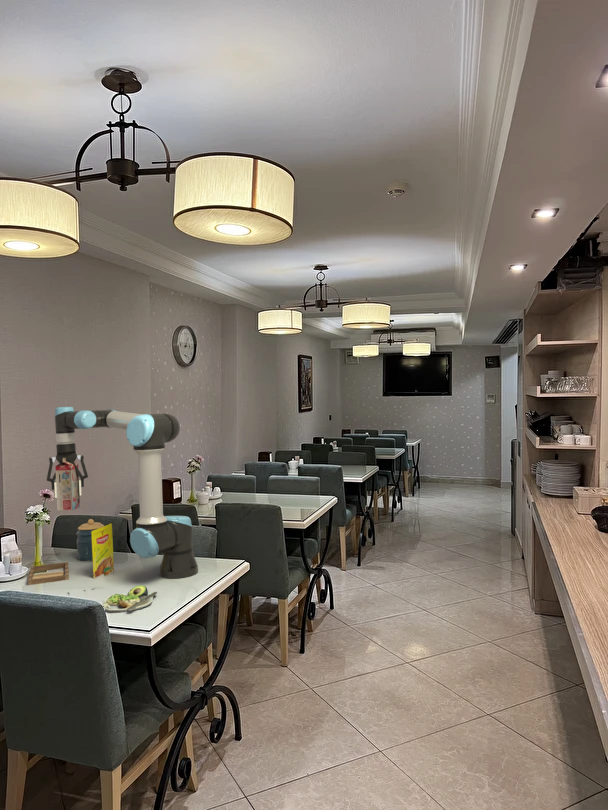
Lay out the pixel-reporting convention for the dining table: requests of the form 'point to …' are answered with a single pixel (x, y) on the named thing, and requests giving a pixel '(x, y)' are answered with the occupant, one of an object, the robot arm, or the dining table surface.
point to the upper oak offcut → (48, 575)
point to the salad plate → (130, 599)
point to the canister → (86, 540)
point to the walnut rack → (45, 568)
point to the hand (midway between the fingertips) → (68, 496)
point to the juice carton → (67, 486)
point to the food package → (102, 551)
